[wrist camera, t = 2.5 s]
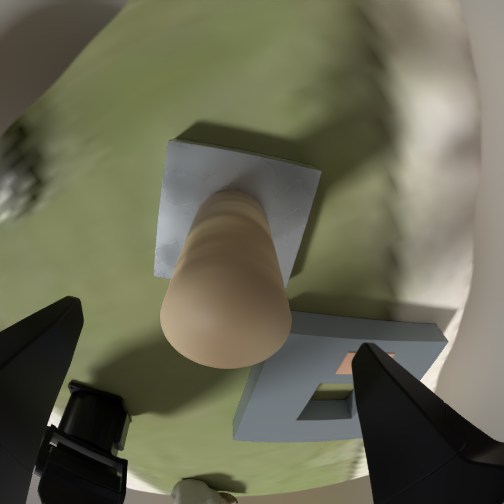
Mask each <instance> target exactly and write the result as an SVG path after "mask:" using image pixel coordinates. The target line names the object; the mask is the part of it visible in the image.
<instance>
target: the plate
mask: <svg viewBox="0 0 504 504" xmlns="http://www.w3.org/2000/svg"><path fill="white" fill-rule="evenodd" d="M321 173H322V171H320V170H319V169H317V168H316V167H315V166H311V165H307V164H303V163H299V162H295V161H291V160H287V159H283V158H278V157H274V156H270V155H265V154H260V153H256V152H251V151H246V150H241V149H236V148H231V147H225V146H220V145H214V144H208V143H202V142H196V141H190V140H183V139H176V138H174V139H172V140H169V141H168V147H167V154H166V160H165V167H164V174H163V182H162V190H161V198H160V207H159V217H158V227H157V239H156V252H155V268H154V276H157V277H162V278H168V279H171V278H172V275H173V272H174V270H175V267H176V264H177V261H178V259H179V256H180V253H181V251H182V248H183V245H184V243H185V240H186V238H187V235H188V233H189V230H190V227H191V225H192V222H193V220H194V217H195V215H196V213H197V210H198V209H199V207H200V206H201V204H202V203H203V202H204V201H205V200H206V199H207V198H209V197H210V196H212V195H214V194H216V193H219V192H222V191H239V192H243V193H246V194H248V195H250V196H252V197H253V198H254V199H256V200H257V201H258V202H259V203H260V204H261V206H262V207H263V209H264V211H265V213H266V215H267V219H268V223H269V227H270V231H271V235H272V239H273V242H274V246H275V250H276V254H277V258H278V262H279V266H280V270H281V274H282V278H283V282H284V286H285V289H286V286H287V283H288V280H289V277H290V274H291V271H292V268H293V265H294V262H295V259H296V256H297V253H298V249H299V246H300V243H301V240H302V237H303V233H304V230H305V227H306V224H307V220H308V217H309V214H310V210H311V207H312V204H313V200H314V197H315V194H316V190H317V187H318V183H319V180H320V176H321Z"/></svg>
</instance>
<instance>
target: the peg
mask: <svg viewBox="0 0 504 504" xmlns="http://www.w3.org/2000/svg"><path fill="white" fill-rule="evenodd" d="M160 322H161V327H162V330H163V332H164V335H165V336H166V338H167V340H168V341H169V343H170V344H171V345H172V346H173V347H174V348H175V349H176V350H177V351H178V352H179V353H181V354H182V355H183V356H185V357H186V358H188V359H190V360H192V361H194V362H196V363H199V364H201V365H205V366H209V367H214V368H222V369H234V368H242V367H247V366H251V365H254V364H257V363H260V362H262V361H264V360H266V359H267V358H269V357H270V356H272V355H273V354H274V353H276V352H277V351H278V350H279V349H280V348H281V347H282V346H283V344H284V343H285V341H286V340H287V338H288V336H289V333H290V330H291V324H292V316H291V311H290V307H289V303H288V299H287V294H286V290H285V286H284V282H283V278H282V274H281V270H280V266H279V262H278V258H277V254H276V250H275V246H274V242H273V239H272V235H271V231H270V227H269V223H268V219H267V215H266V213H265V211H264V209H263V207H262V206H261V204H260V203H259V202H258V201H257V200H256V199H254V198H253V197H252V196H250V195H248V194H246V193H243V192H239V191H222V192H219V193H216V194H214V195H212V196H210V197H209V198H207V199H206V200H205V201H204V202H203V203H202V204H201V206H200V207H199V209H198V210H197V213H196V215H195V217H194V220H193V222H192V225H191V227H190V230H189V233H188V235H187V238H186V240H185V243H184V245H183V248H182V251H181V253H180V256H179V259H178V261H177V264H176V267H175V270H174V272H173V275H172V278H171V281H170V283H169V286H168V289H167V292H166V295H165V298H164V300H163V304H162V307H161V312H160Z"/></svg>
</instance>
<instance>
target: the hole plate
mask: <svg viewBox="0 0 504 504" xmlns="http://www.w3.org/2000/svg"><path fill="white" fill-rule="evenodd" d="M290 311H291V310H290ZM291 316H292V324H291V330H290V333H289V336H288V338H287V340H286V341H285V343H284V344H283V346H282V347H281V348H280V349H279V350H278V351H277V352H276V353H274V354H273V355H272V356H270V357H269V358H267V359H266V360H264V361H262V362H260V363H257V364H254V365H253V366H252V369H251V372H250V375H249V378H248V381H247V383H246V386H245V389H244V392H243V395H242V397H241V400H240V403H239V406H238V408H237V411H236V414H235V417H234V419H233V440H236V441H251V442H319V441H334V440H346V439H355V438H363V437H362V432H361V427H360V422H359V417H358V412H357V407H356V401H355V393H354V389H353V391H352V392H351V394H350V395H349V396H348V398H347V399H346V400H310V398H311V397H312V395H313V393H314V392H315V390H316V389H317V387H318V385H319V384H320V383H353V376H352V368H351V363H352V359H353V357H354V356H355V354H356V352H357V351H358V349H359V347H360V346H361V344H362V343H364V342H369V343H375V344H376V345H377V346H379V347H380V348H381V349H382V350H383V351H385V352H386V353H387V354H388V355H389V356H391V357H392V358H393V359H394V360H395V361H396V362H398V363H399V364H400V365H401V366H402V367H404V368H405V369H406V370H407V371H408V372H410V373H411V374H412V375H413V376H414V377H416V378H417V379H418V380H419V381H420V380H421V378H422V377H423V376H424V374H425V373H426V372H427V371H428V369H429V368H430V367H431V365H432V364H433V363H434V361H435V360H436V359H437V357H438V356H439V354H440V353H441V352H442V350H443V349H444V347H445V346H446V344H447V343H448V340H447V339H446V337H445V336H444V335H443V333H442V332H441V330H440V329H439V328H438V326H437V325H436V324H424V323H409V322H396V321H383V320H372V319H361V318H351V317H342V316H332V315H324V314H315V313H307V312H299V311H291Z"/></svg>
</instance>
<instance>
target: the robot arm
mask: <svg viewBox="0 0 504 504" xmlns="http://www.w3.org/2000/svg"><path fill="white" fill-rule="evenodd" d="M83 323H84V318H83V312H82V305H81V301H80V299H79V298H76V297H73V296H66V297H64V298H62V299H60V300H58V301H57V302H55V303H53V304H51V305H49V306H47V307H45V308H43V309H41V310H39V311H38V312H36V313H34V314H32V315H30V316H28V317H26V318H24V319H23V320H21V321H19V322H17V323H15V324H14V325H12V326H10V327H8V328H6V329H4V330H3V331H1V332H0V504H26V500H27V495H28V491H29V486H30V482H31V478H32V473H33V470H34V468H35V472H34V474H36V475H38V476H39V477H41V479H40V482H39V486H38V495H39V498H40V501H41V504H123V502H124V499H125V495H126V482H127V465H128V460H126V459H121V458H119V457H117V453H118V450H120V451H122V450H124V445H125V441H126V437H127V432H128V428H129V424H130V421H129V417H128V413H127V411H125V407H124V402H123V399H122V398H121V397H118V396H115V395H111V394H107V393H104V392H100V391H97V390H94V389H90V388H87V387H84V386H81V385H78V384H75V383H72V382H69V384H68V388H69V390H70V393H71V396H70V398H69V401H68V403H67V406H66V408H65V411H64V413H63V416H62V418H61V421H60V423H59V426H58V428H56V426H54V425H53V424H51V427H50V426H47V424H48V421H49V418H50V415H51V412H52V410H53V407H54V404H55V402H56V399H57V396H58V394H59V391H60V389H61V386H62V384H63V381H64V379H65V377H66V374H67V372H68V369H69V367H70V364H71V361H72V358H73V355H74V351H75V348H76V345H77V342H78V339H79V336H80V333H81V330H82V327H83ZM351 368H352V376H353V384H354V393H355V401H356V407H357V412H358V417H359V422H360V427H361V432H362V437H363V442H364V447H365V453H366V458H367V464H368V470H369V476H370V482H371V489H372V495H373V502H374V504H504V443H503V442H499V441H496V440H494V439H493V438H491V437H490V436H488V435H487V434H485V433H484V432H483V431H481V430H480V429H478V428H477V427H476V426H474V425H473V424H471V423H470V422H469V421H467V420H466V419H465V418H463V417H462V416H461V415H460V414H458V413H457V412H456V411H455V410H453V409H452V408H451V407H450V406H449V405H448V404H446V403H444V401H443V400H442V399H440V398H439V397H438V396H437V395H435V393H433V392H432V391H431V390H430V389H429V388H427V387H426V386H425V385H424V384H423V383H421V382H420V381H419V380H418V379H417V378H416V377H414V376H413V375H412V374H411V373H410V372H408V371H407V370H406V369H405V368H404V367H402V366H401V365H400V364H399V363H398V362H396V361H395V360H394V359H393V358H392V357H391V356H389V355H388V354H387V353H386V352H385V351H383V350H382V349H381V348H380V347H379V346H377V345H376V344H375V343H369V342H364V343H362V344H361V346H360V347H359V349H358V351H357V352H356V354H355V356H354V357H353V359H352V363H351ZM51 442H53V443H54V444H56V445H57V447H55V446H53V445H52V444H51Z"/></svg>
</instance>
